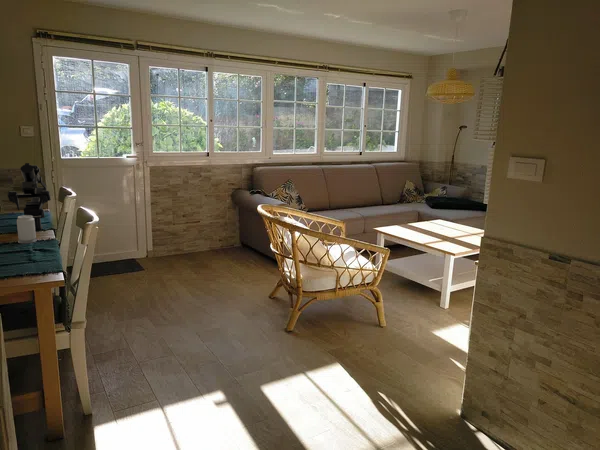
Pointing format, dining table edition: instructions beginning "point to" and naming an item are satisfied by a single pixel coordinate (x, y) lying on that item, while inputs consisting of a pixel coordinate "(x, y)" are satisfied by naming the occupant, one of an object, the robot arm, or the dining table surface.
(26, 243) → the coaster
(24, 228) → the can
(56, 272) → the dining table surface
